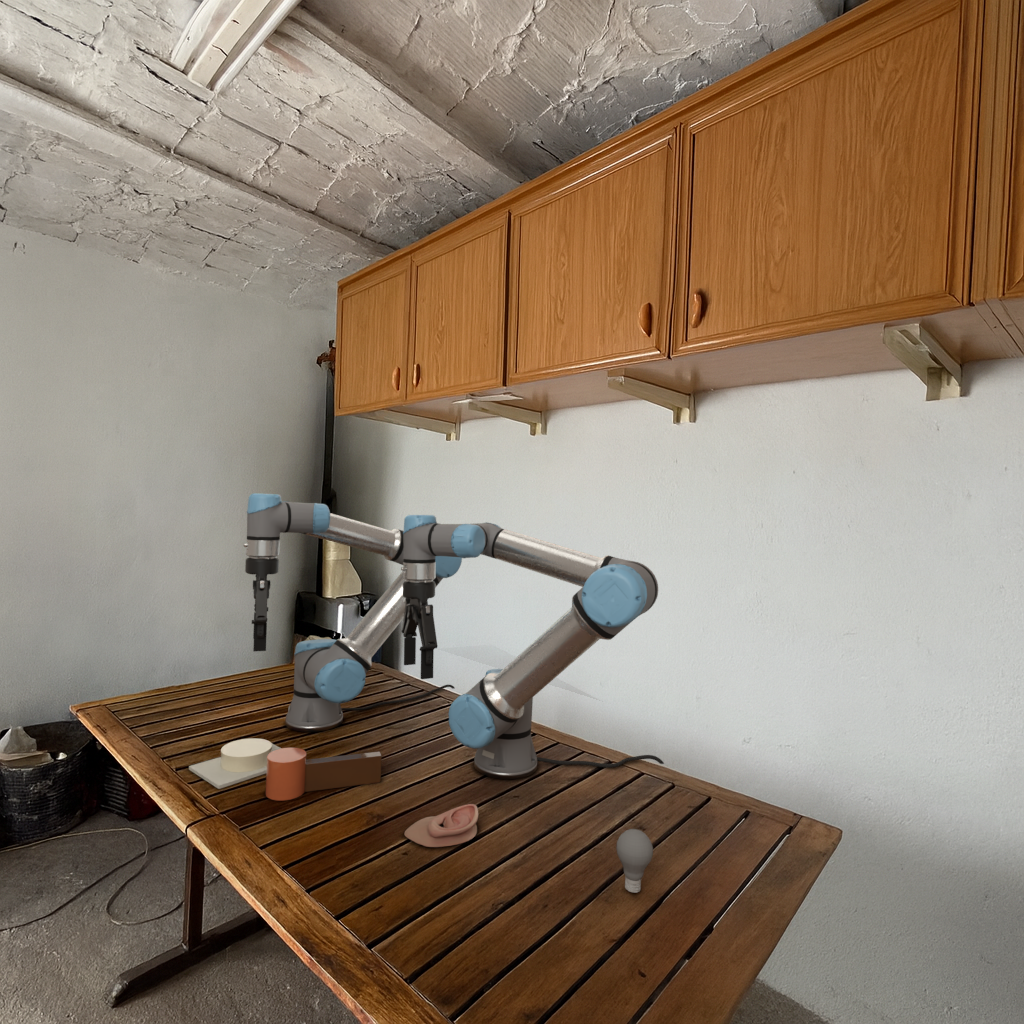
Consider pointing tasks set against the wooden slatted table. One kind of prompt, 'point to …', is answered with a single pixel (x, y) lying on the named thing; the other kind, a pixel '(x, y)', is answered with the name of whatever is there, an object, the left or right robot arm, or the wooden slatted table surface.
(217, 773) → the grey mat
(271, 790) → the orange handled cylinder
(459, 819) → the anatomical model
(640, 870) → the light bulb
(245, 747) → the cap
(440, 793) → the wooden slatted table surface
